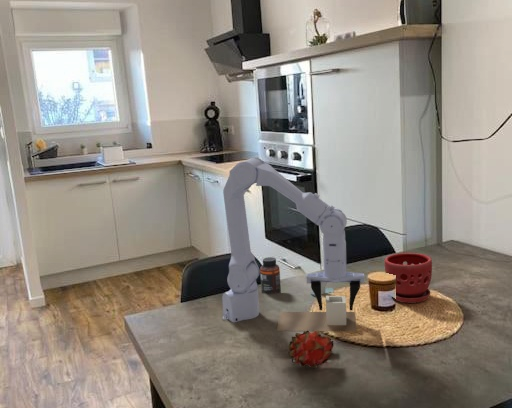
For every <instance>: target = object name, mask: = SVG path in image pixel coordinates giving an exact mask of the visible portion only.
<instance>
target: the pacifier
mask: <svg viewBox="0 0 512 408" xmlns="http://www.w3.org/2000/svg"><path fill="white" fill-rule="evenodd" d="M327 283H328V282H321V295H323V294H334V288H333V287H326V286H327ZM310 294H311V295H312V296H314V297H316V296H315V294H314V292H313V291H312V292H310Z"/></svg>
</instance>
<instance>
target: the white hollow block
mask: <svg viewBox="0 0 512 408" xmlns="http://www.w3.org/2000/svg"><path fill="white" fill-rule="evenodd" d="M335 301H336V302H335ZM325 312H326V324H327V325H346V312H347V300H346V295H325Z"/></svg>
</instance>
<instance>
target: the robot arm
mask: <svg viewBox="0 0 512 408" xmlns="http://www.w3.org/2000/svg"><path fill="white" fill-rule="evenodd" d="M228 174H229V176H228V177H227V180H226V182H225V185H224V187H223V189H222V191H223V192H222V193H223V201H224V207H225V209H224V210H225V216H226V223H227V232H228V236H229V237H228V239H229V246H230V254H231V255H230V256H231V257H230V260H229V263H228V275H227V278H226V279H227V285H228V287H229V288H230V289H229V290H228V291H225V292H224V293H223V294H222V297H221V299H222V315H223V316H222V320H224V321H225V320H229V321H230V322H232V323H237V322H240V321H245V320H251V319H255V318H257V317H258V316H259V315H260V308H259V307H260V304H259V290H258V289H259V287H258V285H259V284H258V283H257V279H258V278H259V276H260V268H259V265H258V263H257V262H256V260H255V259H256V257H255V255H254V253H252V249H251V241H250V235H249V226H248V225H249V224H248V218H247V211H246V210H247V209H246V203H245V202H246V201H245V194H246V193H247V192H248V191H249V189H250V188H251V187H252V186H253V185H254V184H255V186H256V187H270V188H272V189H274V190H276V192H278V193H280V195H283V196H284V197H285V198H287V199H289V200H290V201H291V202H293V203H294V204H295V206H296V210H297V211H296V212H298V213H300V214H302V216H304V217H305V218H307V219H308V220H310V221H311V222H312V223H314V224H315V225H316V226H319V228H320V232H321V233H322V234H323V238H322V239H323V241H322V252H323V253H322V254H323V256H322V257H323V261H322V262H323V271H322V272H314V273H306V277H305V278H306V284H310V288H311V290H312V292H314V293H313V294H315V296H314V297H315V298H316V301H317V303H318V307H319V310H318V311H323V299H322V294H321V282H327V283H332V284H334V283H335V284H337V283H349V303H348V304H349V311H353V308H354V303H355V300H356V297H357V294H358V293H359V290H360V289H361V284H364V283H365V273H363V272H362V273H360V272H350V271H349V272H348V271H347V241H346V231H345V228H346V226H347V224H348V220H347V216H346V214H345V213H344V212H343V211H342V210H341V209H339V208H336V207H335V206H333V205H331V206H330V205H329V204H328V203H326V202H325V201H324V200H322V199H321V198H320V195H319V194H318V193H316V192H315V193H313V192H303V191H302V190H300V189H299V188H298V187H297V186H296V185H294V184H293V183H292V182H291V181H289V180H288V179H287V178H286V177H285V176H283V175H282V174H281V173H279V171H277V170H276V169H275V168H274V167H273V166H272V165H270V164H269V163H267V162H264V161H263V160H262V159H261V158H260V157H249V158H248V159H246V160H244V161H240V162H238V163H236V164H235V165H234V166H233V167H231V169H230V170H229V173H228Z"/></svg>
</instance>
